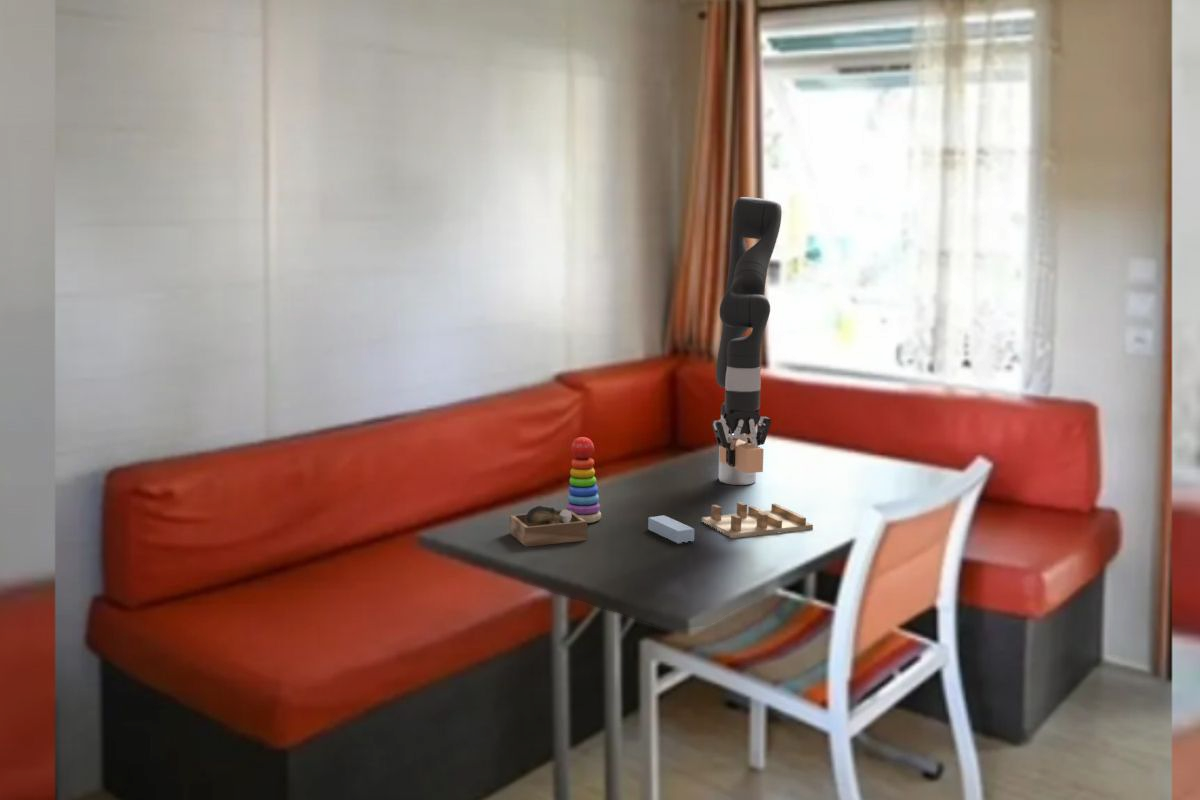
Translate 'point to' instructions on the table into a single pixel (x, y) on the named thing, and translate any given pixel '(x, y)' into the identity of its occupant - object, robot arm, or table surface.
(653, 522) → the light blue rectangular block
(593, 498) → the stacking toy
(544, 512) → the eagle figurine
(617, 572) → the table surface
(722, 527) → the jig
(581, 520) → the open wooden box
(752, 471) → the knobbed wooden block
